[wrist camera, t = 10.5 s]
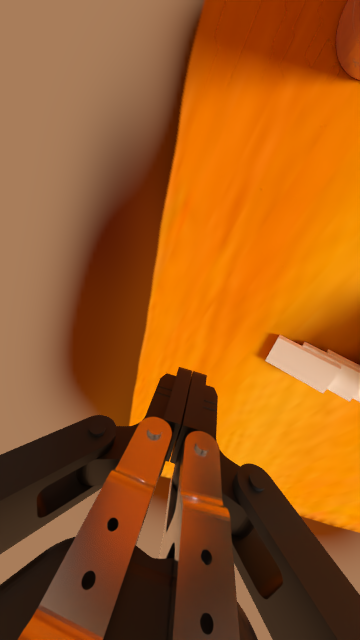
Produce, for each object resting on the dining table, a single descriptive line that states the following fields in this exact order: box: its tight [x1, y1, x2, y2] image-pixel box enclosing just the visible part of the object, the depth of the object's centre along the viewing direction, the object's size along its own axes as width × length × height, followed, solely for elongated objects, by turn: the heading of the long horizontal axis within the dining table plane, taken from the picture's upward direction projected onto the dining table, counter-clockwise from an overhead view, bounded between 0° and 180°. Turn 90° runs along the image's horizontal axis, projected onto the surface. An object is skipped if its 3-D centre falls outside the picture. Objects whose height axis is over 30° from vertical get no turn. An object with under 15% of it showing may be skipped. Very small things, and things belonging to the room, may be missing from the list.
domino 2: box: [302, 342, 360, 401], centre depth 39 cm, size 5×2×10 cm
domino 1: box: [265, 335, 341, 393], centre depth 40 cm, size 5×2×10 cm
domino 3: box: [326, 349, 360, 402], centre depth 39 cm, size 5×2×10 cm
